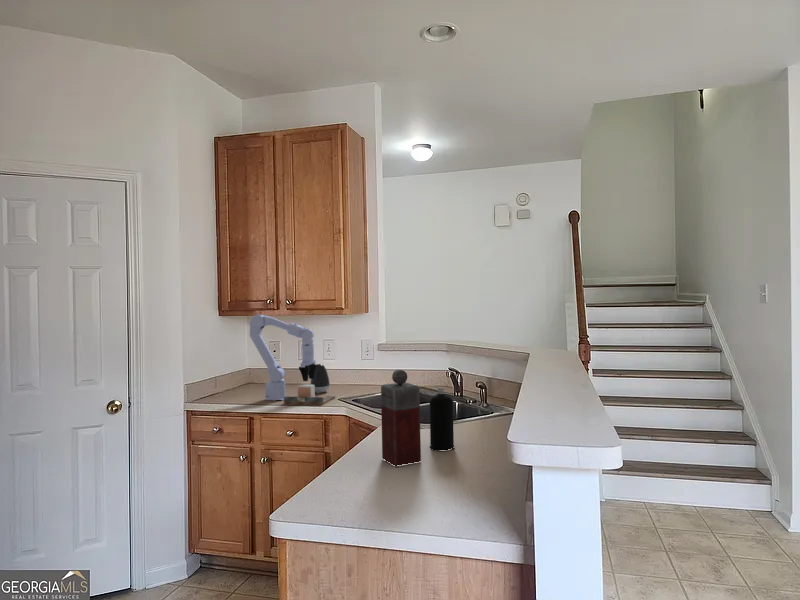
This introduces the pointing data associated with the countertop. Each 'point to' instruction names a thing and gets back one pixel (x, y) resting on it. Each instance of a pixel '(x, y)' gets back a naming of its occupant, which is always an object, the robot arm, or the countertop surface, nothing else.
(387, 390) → the pepper mill
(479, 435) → the countertop surface
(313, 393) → the cream box
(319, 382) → the black rounded upright piece
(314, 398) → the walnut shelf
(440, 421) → the aerosol can
